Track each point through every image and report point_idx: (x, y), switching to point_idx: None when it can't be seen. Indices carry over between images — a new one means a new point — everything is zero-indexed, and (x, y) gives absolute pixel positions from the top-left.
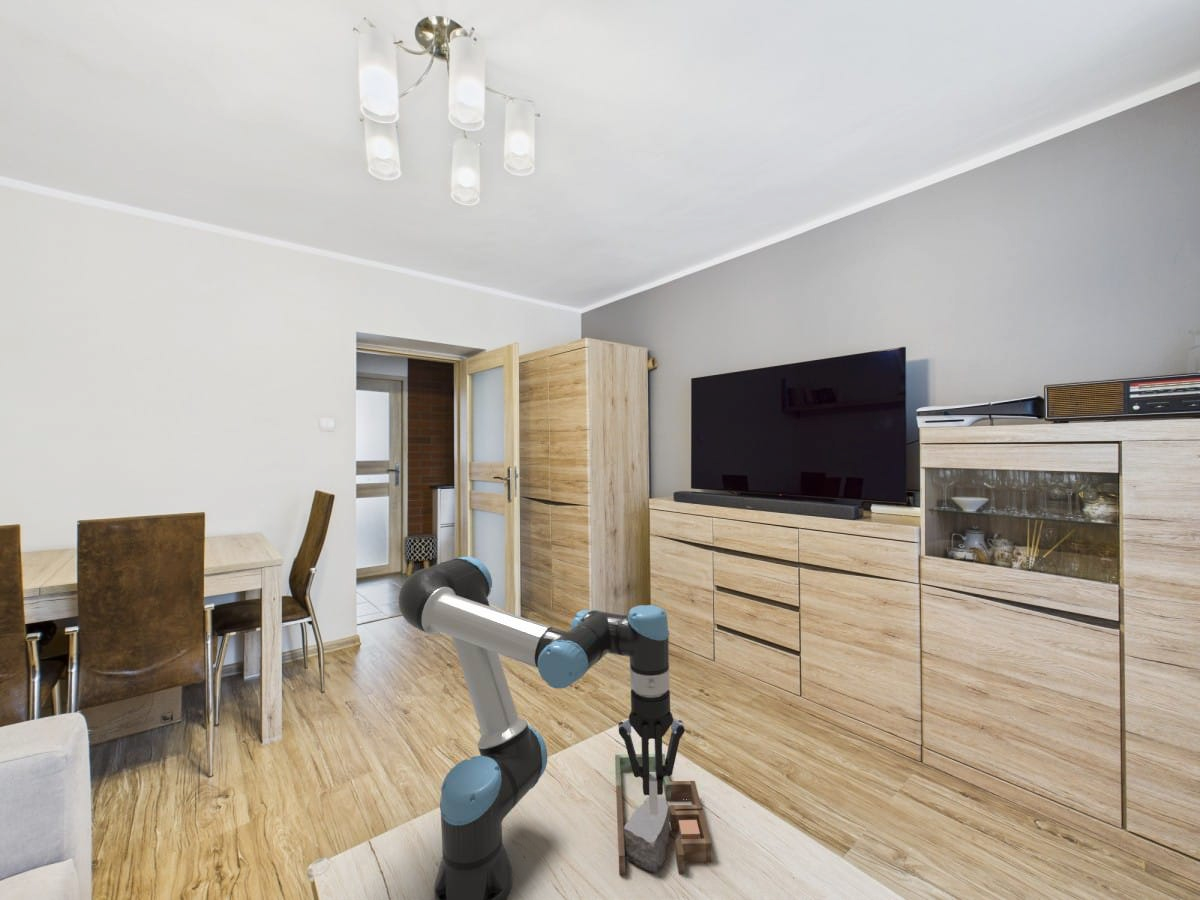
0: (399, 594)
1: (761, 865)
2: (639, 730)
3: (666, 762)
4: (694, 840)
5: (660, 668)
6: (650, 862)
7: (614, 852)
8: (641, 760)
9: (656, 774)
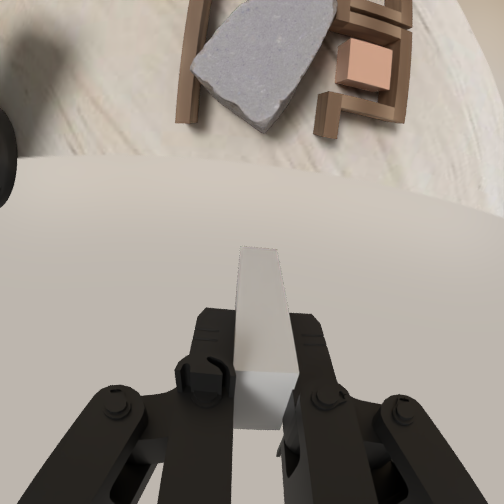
0: None
1: (455, 153)
2: None
3: (396, 456)
4: (372, 106)
5: None
6: (253, 126)
7: None
8: None
9: (282, 455)
